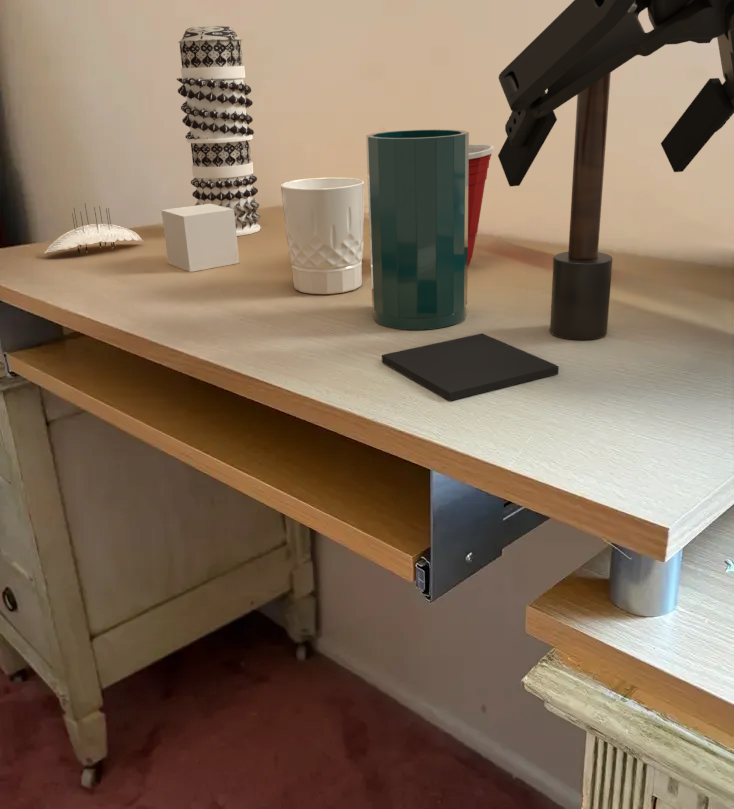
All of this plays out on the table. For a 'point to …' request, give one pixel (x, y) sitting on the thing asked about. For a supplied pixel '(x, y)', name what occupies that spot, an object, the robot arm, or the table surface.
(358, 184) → the white cup
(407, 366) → the mat
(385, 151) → the tumbler
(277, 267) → the table surface
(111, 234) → the pincushion
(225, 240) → the off-white cube
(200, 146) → the bracelet display stand
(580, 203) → the bottle brush
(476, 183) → the plastic cup
